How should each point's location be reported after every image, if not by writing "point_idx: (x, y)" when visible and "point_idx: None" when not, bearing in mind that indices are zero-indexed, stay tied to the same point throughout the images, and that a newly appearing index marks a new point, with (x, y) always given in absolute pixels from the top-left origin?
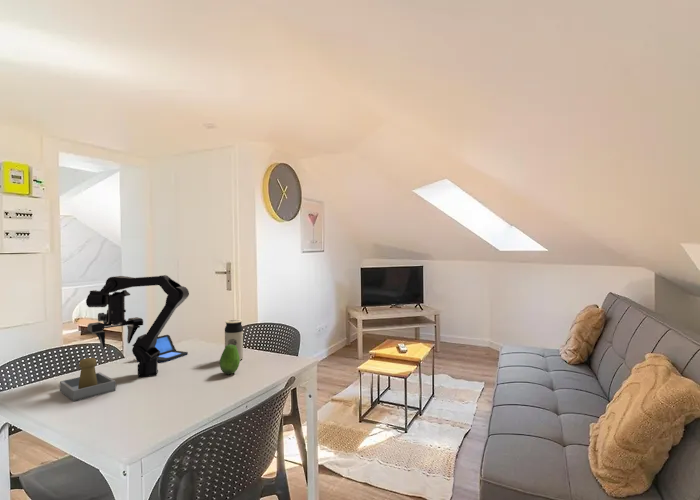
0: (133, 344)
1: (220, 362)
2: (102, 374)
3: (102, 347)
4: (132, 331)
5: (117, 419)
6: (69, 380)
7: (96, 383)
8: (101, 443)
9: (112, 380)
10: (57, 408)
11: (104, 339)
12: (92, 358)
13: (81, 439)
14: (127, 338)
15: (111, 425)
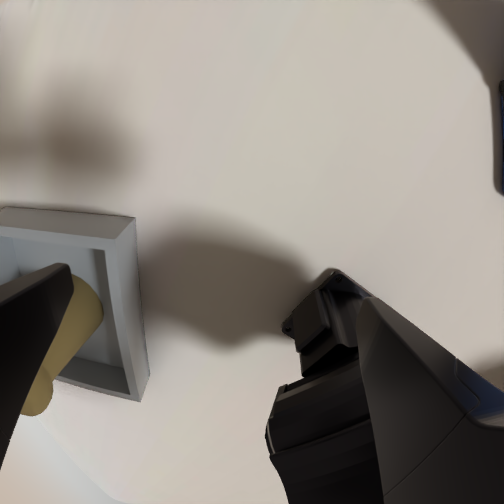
0: (275, 467)
1: None
2: (116, 290)
3: (57, 267)
4: (390, 502)
5: (119, 465)
6: (4, 234)
7: (88, 338)
8: (94, 478)
9: (133, 391)
10: None
11: (23, 396)
12: (24, 409)
13: (73, 461)
14: (390, 330)
15: (108, 468)
